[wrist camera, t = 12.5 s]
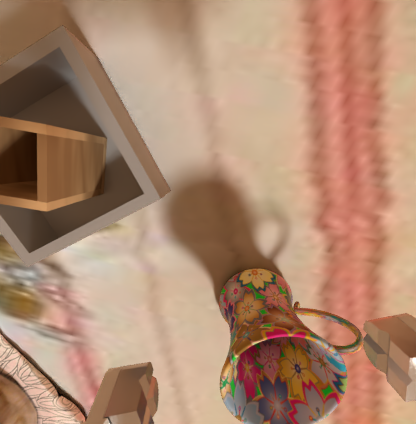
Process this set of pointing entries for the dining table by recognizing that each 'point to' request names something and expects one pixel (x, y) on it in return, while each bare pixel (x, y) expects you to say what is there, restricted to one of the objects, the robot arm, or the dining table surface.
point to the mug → (278, 354)
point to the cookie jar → (30, 393)
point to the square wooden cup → (48, 165)
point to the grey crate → (82, 122)
